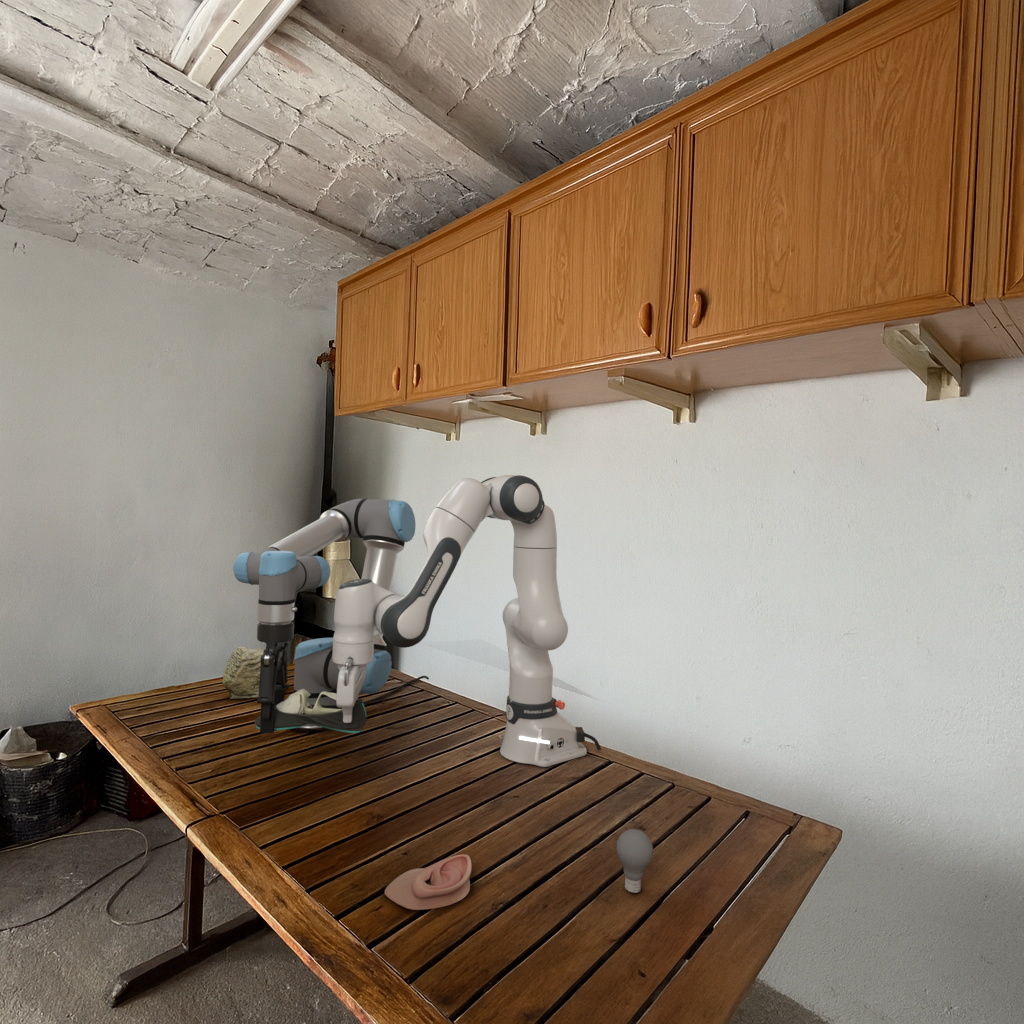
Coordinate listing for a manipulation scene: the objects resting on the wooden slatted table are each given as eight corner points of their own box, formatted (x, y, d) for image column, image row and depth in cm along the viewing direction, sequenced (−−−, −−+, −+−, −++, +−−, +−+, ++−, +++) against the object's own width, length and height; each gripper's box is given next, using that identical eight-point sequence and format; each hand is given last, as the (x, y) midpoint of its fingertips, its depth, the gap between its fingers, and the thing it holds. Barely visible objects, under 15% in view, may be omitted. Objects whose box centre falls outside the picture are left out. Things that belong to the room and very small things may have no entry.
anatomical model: (377, 878, 99) (404, 840, 110) (376, 903, 99) (403, 863, 111) (458, 893, 97) (478, 852, 108) (457, 918, 97) (476, 875, 108)
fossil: (218, 695, 195) (220, 647, 195) (278, 685, 208) (279, 640, 207) (228, 703, 189) (230, 653, 188) (289, 692, 201) (290, 645, 201)
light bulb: (610, 879, 108) (613, 822, 108) (644, 879, 109) (647, 822, 109) (619, 902, 102) (622, 840, 102) (655, 901, 103) (658, 840, 103)
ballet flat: (260, 719, 143) (262, 683, 142) (369, 722, 145) (371, 686, 145) (249, 733, 135) (251, 695, 134) (364, 735, 137) (366, 698, 137)
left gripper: (281, 632, 129) (277, 743, 129) (303, 613, 149) (300, 709, 149) (243, 631, 128) (239, 743, 128) (270, 612, 148) (267, 709, 149)
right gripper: (361, 665, 130) (358, 732, 131) (372, 642, 151) (370, 700, 151) (330, 664, 130) (327, 731, 130) (345, 642, 150) (343, 700, 150)
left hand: (272, 725), depth 139 cm, fingers closed on ballet flat, 8 cm apart
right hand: (350, 714), depth 141 cm, fingers open, 7 cm apart
